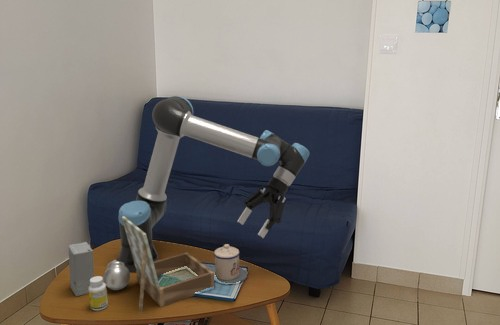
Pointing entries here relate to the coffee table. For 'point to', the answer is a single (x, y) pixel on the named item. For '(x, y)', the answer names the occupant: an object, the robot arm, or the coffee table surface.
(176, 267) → the open wooden keepsake box
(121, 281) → the silver metal rounded piece
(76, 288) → the skincare box
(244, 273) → the trivet
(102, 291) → the supplement bottle
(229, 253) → the teacup with lid
